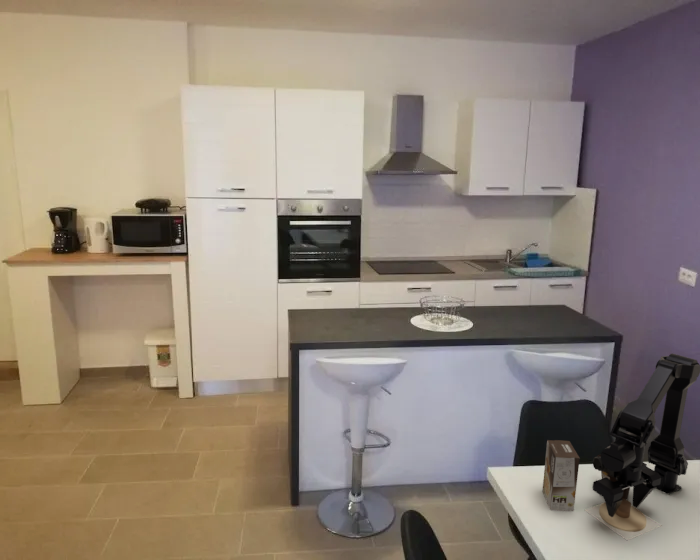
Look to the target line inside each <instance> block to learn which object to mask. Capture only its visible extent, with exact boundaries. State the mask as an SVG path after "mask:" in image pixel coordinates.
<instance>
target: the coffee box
mask: <svg viewBox="0 0 700 560" xmlns="http://www.w3.org/2000/svg"><path fill="white" fill-rule="evenodd" d="M580 459H581V458H580V456H579V454H578V453H577V451H576V450H575V448H574V446H573V444H572V443H571V441H570V440H560V439H559V440H558V439H554V440H550V439H547V441H546V450H545V459H544V460H545V461H544V471H543V480H542V494H543V497H544V498H545V501H546V503H547V505H548V508H549V510H550V511H559V512H574V510H575V509H574V508H575V502H576V494H577V485H578V478H579V477H578V476H579V475H578V474H579V466H580Z"/></svg>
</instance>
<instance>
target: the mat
mask: <svg viewBox="0 0 700 560" xmlns="http://www.w3.org/2000/svg"><path fill="white" fill-rule="evenodd" d="M603 503H604V502H601V503H599V504H596V505H593V506H590V507H588V508H585V509H584V512H586V513H588V514H589V515H590V516H592V517H593V518H595V519H596V520H598V521H599V522H600V523H602V524H603V525H605V526H606V527H607V528H608V529H610V530H611V531H613V532H614V533H615V534H617V535H619V536H620V537H621V538H623V539H624V540H626V541H629V540H632V539H634V538H637V537H639V536H641V535H644V534H646V533H648V532H649V533H650V532H651V531H653V530H656V529H658V528H660V527H662V526H663V525H661V524H660V523H659V522H657V521H656V520H654V519H652V518H651V517H649V516H648V515H646V514H644V515H645V517H646V527H645V528H644V529H643V530H641V531H637V532H629V531H624V530H620V529H617V528H615V527H613V526H611V525H609V524H608V523H606V522H605V521H604V520H603V519H602V518H601V516H600V514H599V509H600V505H601V504H603Z"/></svg>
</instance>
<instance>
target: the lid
mask: <svg viewBox="0 0 700 560" xmlns="http://www.w3.org/2000/svg"><path fill="white" fill-rule="evenodd" d="M602 503H603V504H601V503H600V504H601V505H600V509H599V514H600V516H601V518H602V519H603V520H604V521H605V522H606V523H608V524H609V525H611V526H613V527H615V528H617V529H620V530H624V531H629V532H637V531H641V530H643V529H644V528H645V527H646V517H645V515H646V514H645V513H643V512H642V511H641V510H640V509H638V507H637V508H636V507H634V506H633V505H632V503H631V501H629V499H627V500H626V499H623V500H622V502H621V504H620V506H619V508H618V509H617V511H616V513H615V515H614V516H613V517H611V516H609V514H608V511H607V507H606V503H605V501H604V502H602Z"/></svg>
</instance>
